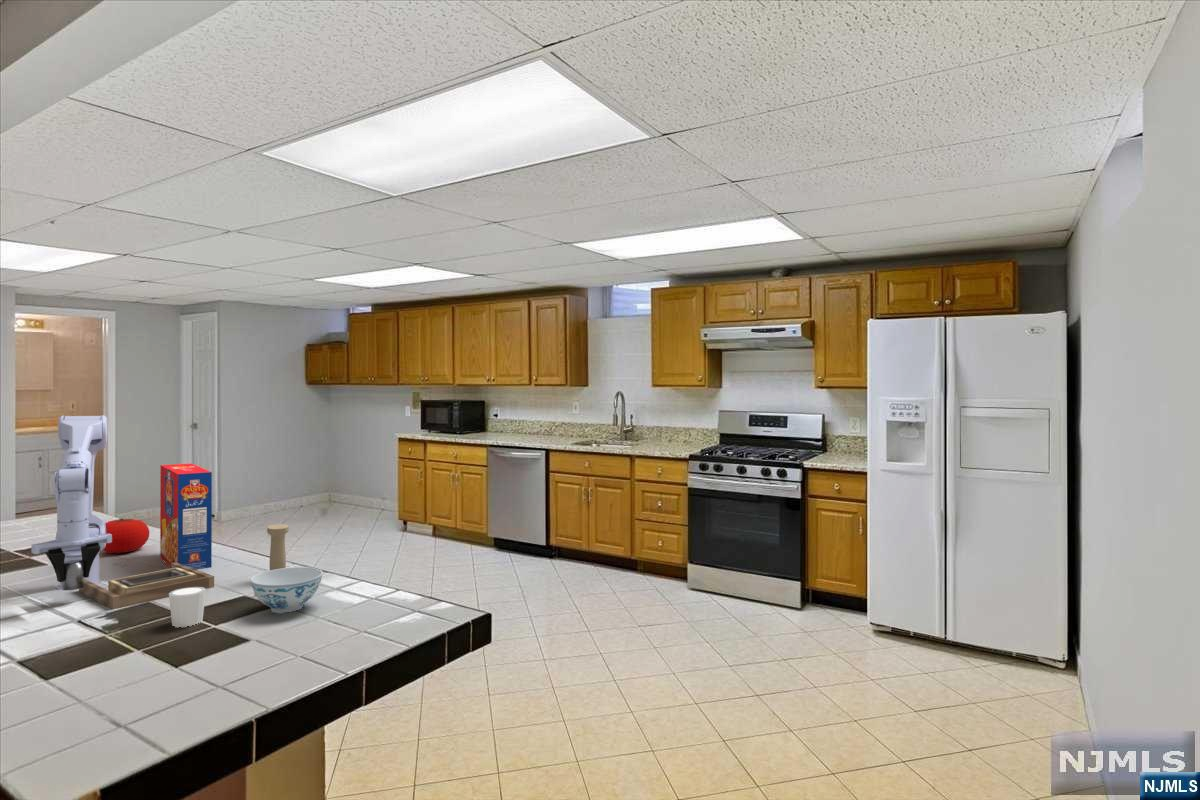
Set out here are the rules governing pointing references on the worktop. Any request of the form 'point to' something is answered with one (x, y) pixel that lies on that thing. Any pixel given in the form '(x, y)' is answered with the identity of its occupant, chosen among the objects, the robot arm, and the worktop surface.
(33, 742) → the worktop surface
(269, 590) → the chinaware
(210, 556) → the pasta box
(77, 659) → the worktop surface
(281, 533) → the handle
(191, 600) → the white cylinder
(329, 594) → the worktop surface
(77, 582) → the peg
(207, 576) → the bay
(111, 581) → the crate
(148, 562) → the worktop surface
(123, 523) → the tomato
